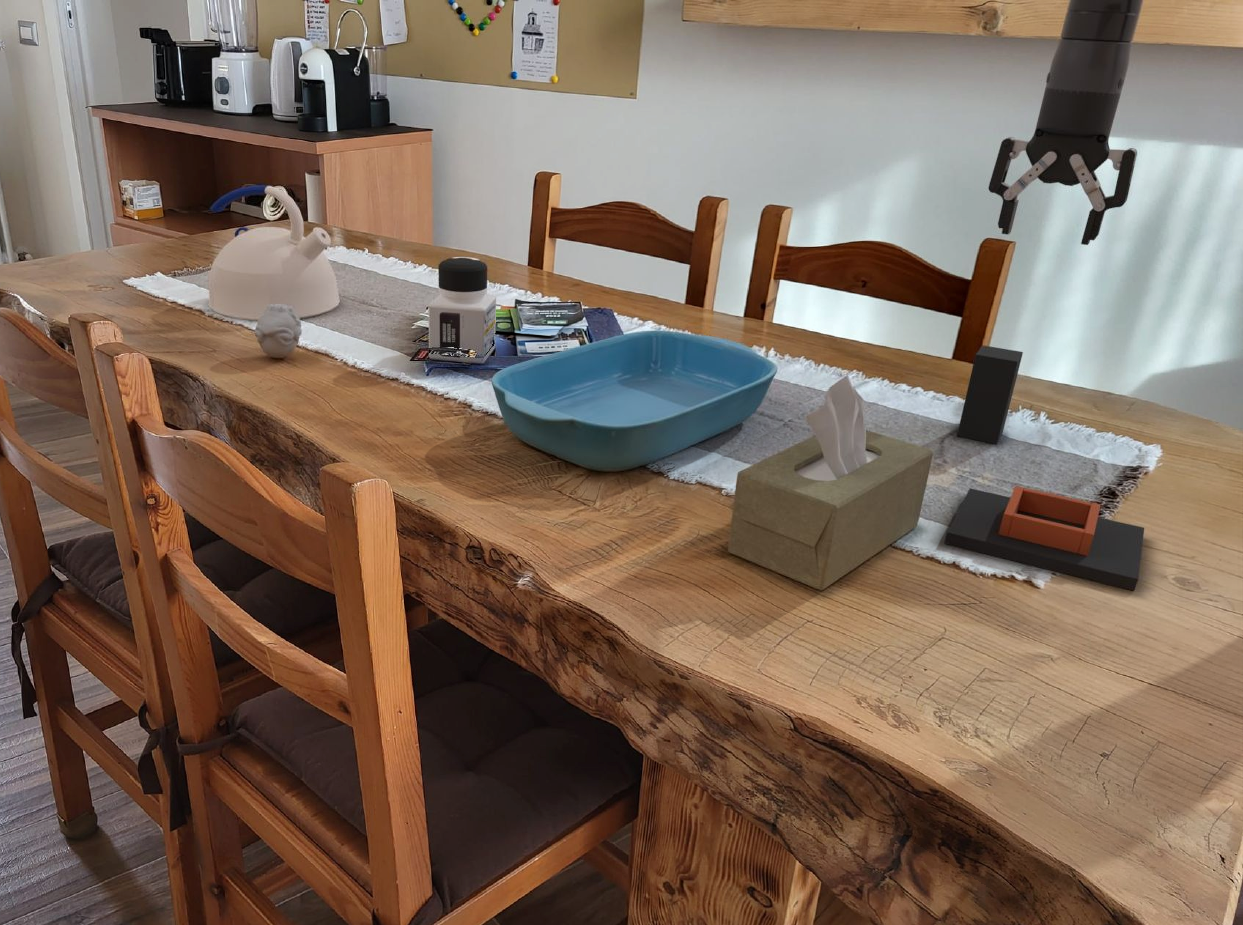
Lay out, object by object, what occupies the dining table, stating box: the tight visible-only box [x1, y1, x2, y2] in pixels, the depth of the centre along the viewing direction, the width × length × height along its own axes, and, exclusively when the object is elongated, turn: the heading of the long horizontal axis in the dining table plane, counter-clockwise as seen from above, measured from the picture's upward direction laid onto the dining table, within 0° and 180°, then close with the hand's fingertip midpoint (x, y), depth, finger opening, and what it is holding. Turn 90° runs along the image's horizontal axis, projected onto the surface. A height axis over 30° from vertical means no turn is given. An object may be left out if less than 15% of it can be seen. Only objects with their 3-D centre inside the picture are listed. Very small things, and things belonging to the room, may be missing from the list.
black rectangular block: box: [956, 344, 1024, 445], centre depth 121 cm, size 4×4×10 cm
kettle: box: [208, 184, 341, 322], centre depth 160 cm, size 20×21×18 cm
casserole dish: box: [491, 330, 778, 473], centre depth 120 cm, size 37×22×7 cm, turn 135°
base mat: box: [944, 485, 1145, 592], centre depth 98 cm, size 16×12×3 cm
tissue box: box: [727, 374, 934, 592], centre depth 94 cm, size 19×10×16 cm, turn 137°
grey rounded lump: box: [254, 304, 303, 359], centre depth 139 cm, size 6×7×7 cm
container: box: [427, 256, 497, 365], centre depth 141 cm, size 8×8×13 cm
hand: (1044, 238), depth 120 cm, fingers open, 8 cm apart
